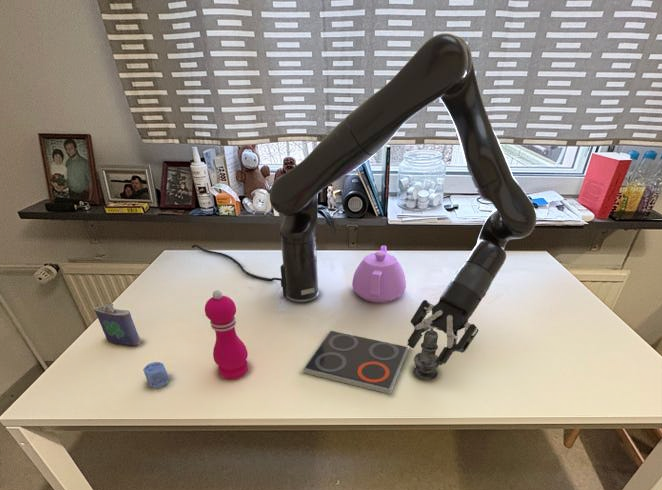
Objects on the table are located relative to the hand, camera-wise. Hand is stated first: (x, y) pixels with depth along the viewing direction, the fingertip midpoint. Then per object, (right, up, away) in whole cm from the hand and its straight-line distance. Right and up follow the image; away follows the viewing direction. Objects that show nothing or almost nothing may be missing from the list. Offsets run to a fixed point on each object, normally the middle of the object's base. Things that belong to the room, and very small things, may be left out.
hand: (424, 355), depth 87 cm
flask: (-71, +3, +13) cm, 72 cm away
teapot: (-7, +19, +33) cm, 39 cm away
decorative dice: (-57, -6, +1) cm, 57 cm away
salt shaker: (+1, -4, +4) cm, 6 cm away
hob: (-14, -1, +7) cm, 16 cm away
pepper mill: (-42, -4, +5) cm, 42 cm away
